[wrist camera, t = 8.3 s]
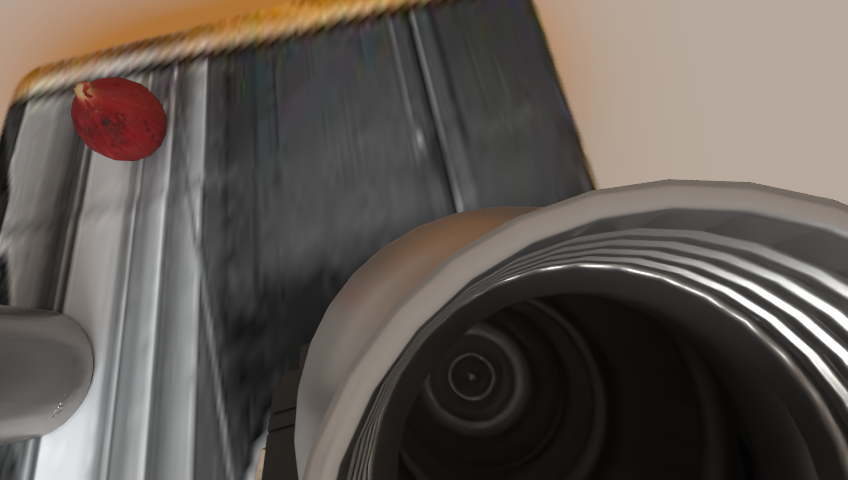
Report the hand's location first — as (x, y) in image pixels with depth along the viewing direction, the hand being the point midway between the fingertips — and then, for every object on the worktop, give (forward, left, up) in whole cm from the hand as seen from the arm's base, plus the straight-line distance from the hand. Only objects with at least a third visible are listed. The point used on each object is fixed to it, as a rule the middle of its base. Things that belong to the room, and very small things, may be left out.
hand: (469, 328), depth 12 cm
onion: (-27, +11, -24) cm, 38 cm away
